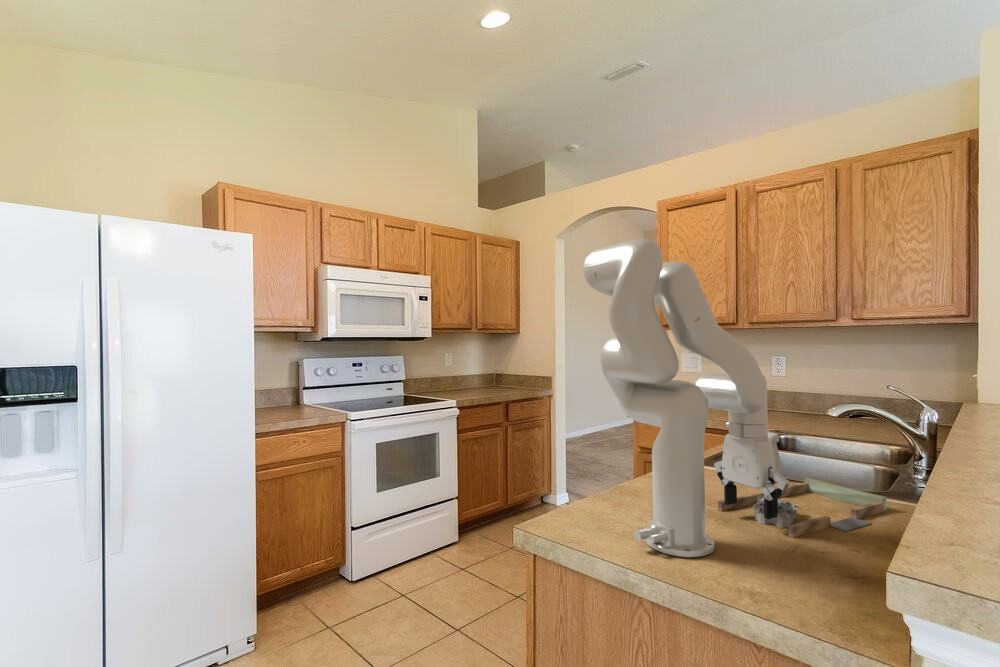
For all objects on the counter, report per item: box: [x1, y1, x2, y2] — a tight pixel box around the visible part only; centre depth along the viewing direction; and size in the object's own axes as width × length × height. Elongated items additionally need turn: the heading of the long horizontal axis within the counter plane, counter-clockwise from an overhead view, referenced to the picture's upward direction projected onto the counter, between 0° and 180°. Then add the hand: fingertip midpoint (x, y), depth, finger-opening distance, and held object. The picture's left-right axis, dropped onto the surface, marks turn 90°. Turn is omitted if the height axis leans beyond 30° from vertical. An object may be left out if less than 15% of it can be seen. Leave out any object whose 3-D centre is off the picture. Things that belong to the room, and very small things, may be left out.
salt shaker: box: [768, 431, 784, 476], centre depth 138 cm, size 6×6×13 cm
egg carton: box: [752, 495, 799, 528], centre depth 109 cm, size 11×8×4 cm
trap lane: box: [717, 477, 888, 539], centre depth 114 cm, size 32×24×3 cm
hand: (750, 510), depth 107 cm, fingers open, 9 cm apart
